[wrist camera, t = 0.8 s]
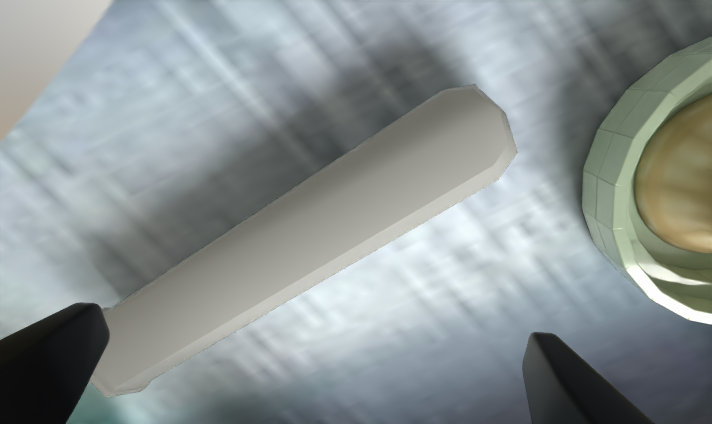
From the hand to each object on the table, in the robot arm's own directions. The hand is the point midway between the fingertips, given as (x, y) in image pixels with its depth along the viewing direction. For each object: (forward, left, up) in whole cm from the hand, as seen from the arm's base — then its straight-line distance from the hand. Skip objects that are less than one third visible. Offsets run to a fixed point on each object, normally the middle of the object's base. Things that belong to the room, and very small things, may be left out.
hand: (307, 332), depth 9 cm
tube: (-3, +4, -15) cm, 16 cm away
